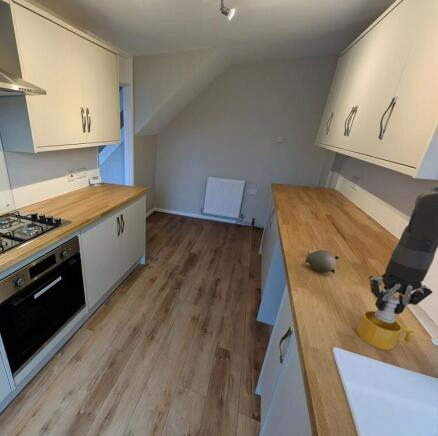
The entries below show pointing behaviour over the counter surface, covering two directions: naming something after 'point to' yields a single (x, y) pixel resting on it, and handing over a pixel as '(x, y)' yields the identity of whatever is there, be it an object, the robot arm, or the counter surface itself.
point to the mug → (381, 331)
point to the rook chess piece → (388, 310)
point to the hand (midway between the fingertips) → (387, 310)
